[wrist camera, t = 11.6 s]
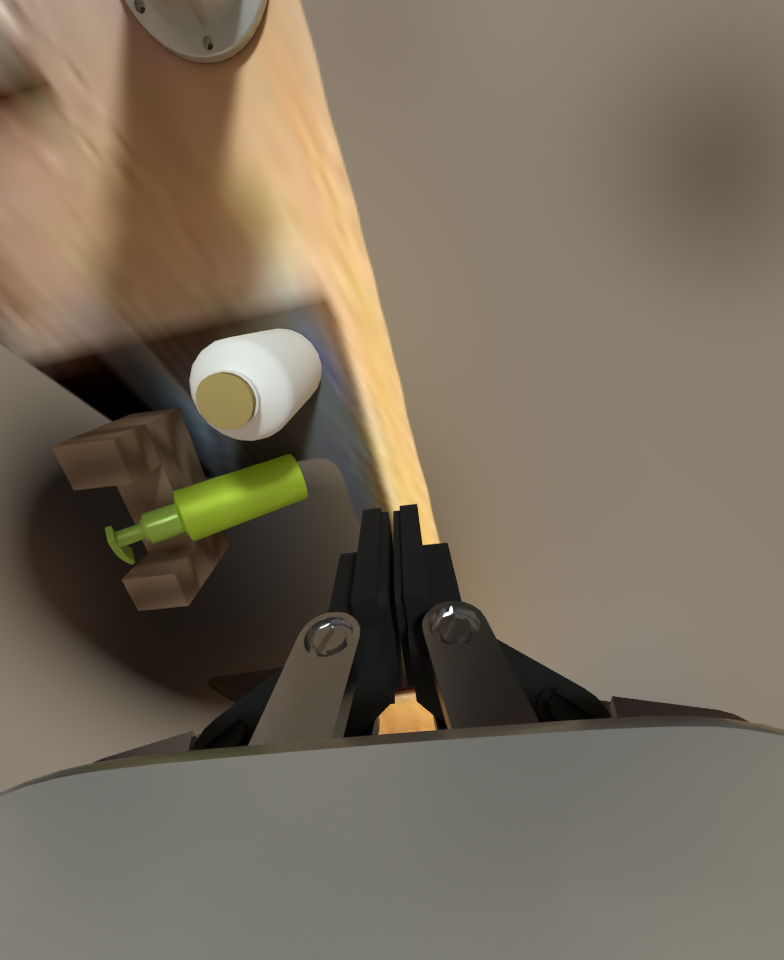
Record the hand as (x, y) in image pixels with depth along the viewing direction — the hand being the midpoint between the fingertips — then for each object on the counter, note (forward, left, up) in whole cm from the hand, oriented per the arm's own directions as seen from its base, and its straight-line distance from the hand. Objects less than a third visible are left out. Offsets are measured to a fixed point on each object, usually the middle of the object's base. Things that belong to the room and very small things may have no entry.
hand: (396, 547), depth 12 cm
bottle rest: (+11, -29, -35) cm, 47 cm away
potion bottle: (-2, -12, -35) cm, 37 cm away
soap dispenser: (+11, -13, -33) cm, 37 cm away
